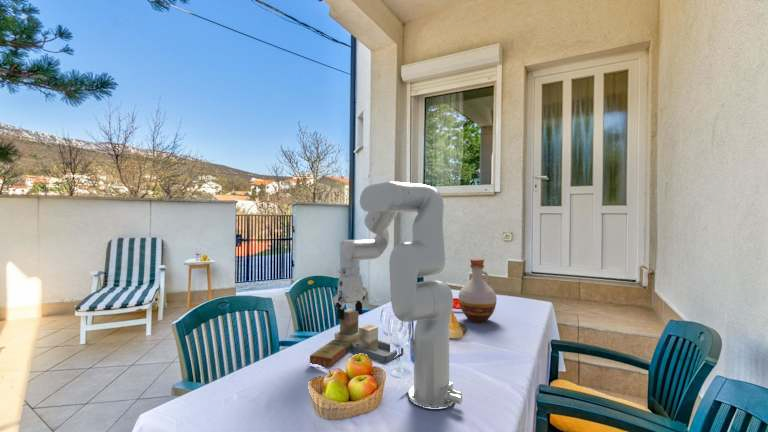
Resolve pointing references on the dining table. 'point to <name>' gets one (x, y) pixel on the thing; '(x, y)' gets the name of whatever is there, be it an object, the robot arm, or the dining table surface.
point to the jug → (477, 294)
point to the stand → (347, 337)
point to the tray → (377, 351)
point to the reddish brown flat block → (331, 353)
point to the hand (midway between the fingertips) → (350, 316)
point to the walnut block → (349, 322)
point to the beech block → (368, 337)
